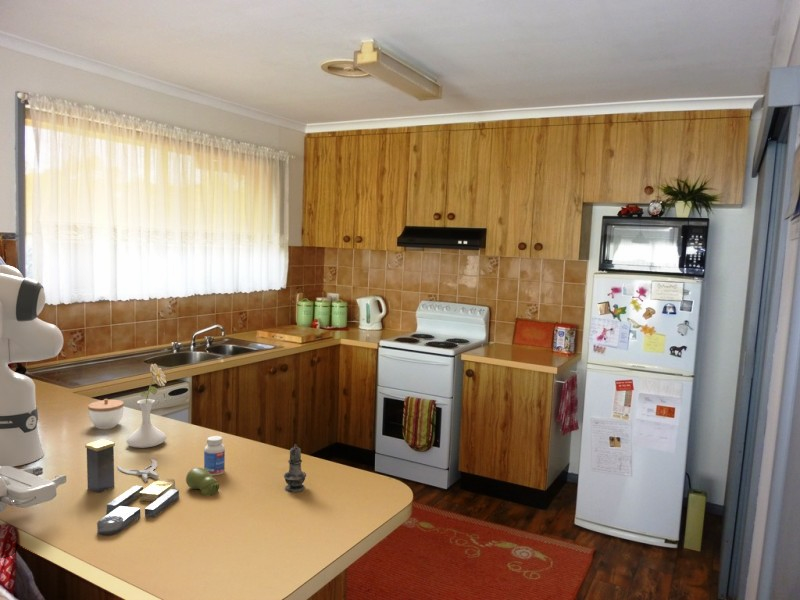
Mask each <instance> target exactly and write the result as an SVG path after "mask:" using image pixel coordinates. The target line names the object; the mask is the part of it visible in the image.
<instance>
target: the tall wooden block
mask: <svg viewBox="0 0 800 600" xmlns="http://www.w3.org/2000/svg"><path fill="white" fill-rule="evenodd" d="M84 445H85V448H86V473H87V475H86V476H87V477H86V478H87V479H86V481H87V490H89V491H92V492H94V493H97V494H100V493H103V492H105V490H106V491H108V490H110V488H111V489H114V488H115V457H114V455H115V453H114V452H115V451H114V446H115V445H116V443H115V442H113V441H110V440H107V439H105V438H102V439H98V440H95V441H92V442H88V443H86V444H84Z"/></svg>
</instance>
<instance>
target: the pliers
mask: <svg viewBox="0 0 800 600" xmlns="http://www.w3.org/2000/svg"><path fill="white" fill-rule="evenodd" d="M150 459H151V460H150V461H152V462H151V464H149V465H148V466H146V467H144V469H126V468H124V467H122V466H121V465H117V467H116V468H117V469H119V470H120V471H119V470H118V471H119V472H120V473H123V472H124V473H123V474H125V473H127V474H126V475H130V474H136V475H135V476H138V475H140V476H141V479H142V478H143V479H142V480H143V481H145V482H144V483H147V482H148V478H151V477H152V478H151V479H153V478H155V479H154V480H156V479H157V480H159V473H158V472H156V471H155V470H156V469H157V468H156V467H158V462H157V461H156V459H154V458H150ZM150 466H152V467H150ZM148 467H149V468H148ZM154 469H155V470H154ZM153 470H154V471H153ZM148 476H150V477H148ZM146 481H147V482H146Z"/></svg>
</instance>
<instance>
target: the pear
mask: <svg viewBox="0 0 800 600" xmlns="http://www.w3.org/2000/svg"><path fill="white" fill-rule="evenodd" d="M185 482H186V485H187V487H189V488H190V489H193V490H200V492H201V494H202V495H203V496H205V497H208V496H212V495H214V494H217V493H219V490H220V484H219V483H218V481H217V479H216V478H214V477H213V476H212V475H211V474H210V473H209V472H208V471H207V470H205V469H204V467H203V468H202V467H194V468H191V469H190V470H189V471H188V472H187V474H186V477H185Z"/></svg>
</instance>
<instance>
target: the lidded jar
mask: <svg viewBox="0 0 800 600" xmlns="http://www.w3.org/2000/svg"><path fill="white" fill-rule="evenodd" d="M124 405H125V403H124V401H123V400H120V399H108V398H104V399H103V400H96V401H93V402H91V403H89V404H88V406H87V408H88V415H89V416H88V417H89V419H90V422H91V423H92V425H93V426H94V427H96V429H99V430H106V429H107V430H110V429H113V428H116V427H117V425H118V424H119V423H120V421H122V418H123V415H124Z"/></svg>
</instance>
